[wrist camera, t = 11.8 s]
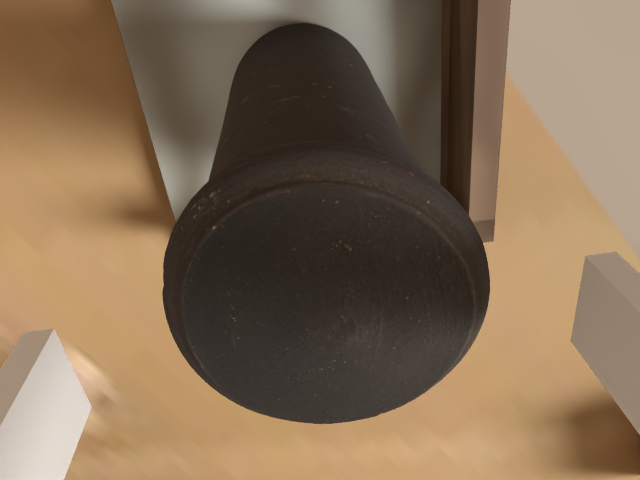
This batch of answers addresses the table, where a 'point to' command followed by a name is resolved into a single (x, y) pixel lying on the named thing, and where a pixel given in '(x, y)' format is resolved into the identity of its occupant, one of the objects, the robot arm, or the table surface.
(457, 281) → the container
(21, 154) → the table surface
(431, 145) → the rest
